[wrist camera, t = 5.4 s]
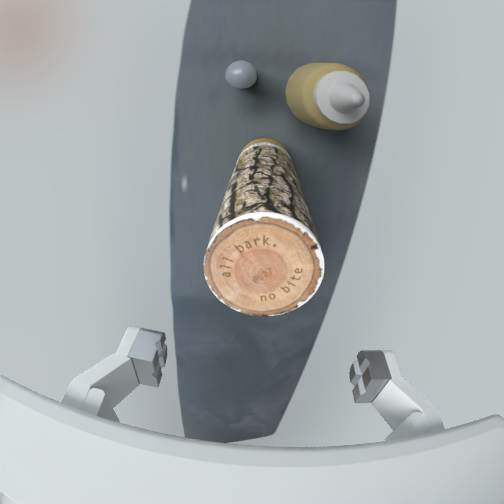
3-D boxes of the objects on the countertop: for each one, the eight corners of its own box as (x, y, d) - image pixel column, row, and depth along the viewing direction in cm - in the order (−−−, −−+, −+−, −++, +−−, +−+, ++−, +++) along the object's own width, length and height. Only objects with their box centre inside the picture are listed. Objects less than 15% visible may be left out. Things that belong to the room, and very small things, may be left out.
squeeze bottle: (352, 117, 34) (415, 143, 19) (293, 130, 35) (316, 164, 20) (336, 59, 30) (393, 40, 15) (275, 72, 32) (284, 56, 16)
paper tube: (228, 154, 37) (178, 255, 16) (272, 127, 35) (285, 191, 14) (257, 194, 40) (248, 330, 19) (299, 169, 38) (343, 285, 17)
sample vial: (249, 61, 31) (246, 55, 26) (262, 81, 32) (261, 79, 27) (227, 73, 32) (220, 69, 27) (239, 93, 33) (235, 93, 28)
